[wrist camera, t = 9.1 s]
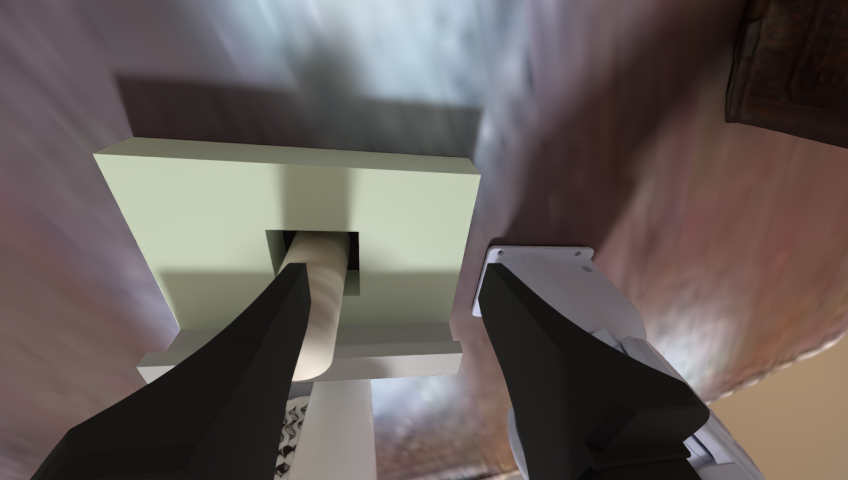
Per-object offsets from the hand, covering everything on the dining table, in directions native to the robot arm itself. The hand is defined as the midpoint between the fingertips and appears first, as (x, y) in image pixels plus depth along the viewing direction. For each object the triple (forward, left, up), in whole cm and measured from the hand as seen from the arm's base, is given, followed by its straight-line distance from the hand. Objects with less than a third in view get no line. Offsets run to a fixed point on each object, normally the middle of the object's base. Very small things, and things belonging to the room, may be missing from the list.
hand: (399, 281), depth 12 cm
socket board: (+5, +5, -10) cm, 13 cm away
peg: (+5, +5, -10) cm, 13 cm away
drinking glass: (+4, +20, -11) cm, 23 cm away
